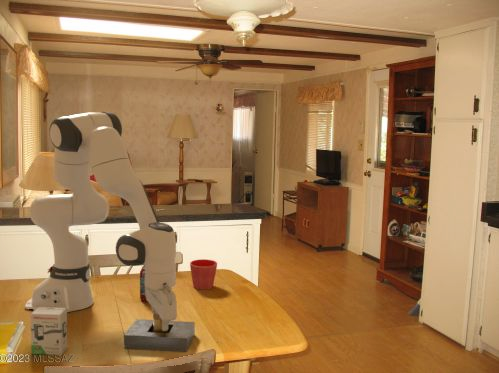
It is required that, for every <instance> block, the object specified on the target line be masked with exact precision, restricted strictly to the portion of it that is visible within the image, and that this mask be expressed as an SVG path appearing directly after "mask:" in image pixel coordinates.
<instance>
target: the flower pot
mask: <svg viewBox="0 0 499 373" xmlns="http://www.w3.org/2000/svg"><path fill="white" fill-rule="evenodd" d="M189 267H190V274H191V282H192V286H193V288H194V289H197V290H202V291H203V290H204V291H205V290H210V289H213V287H214V284H215V278H216V274H217V267H218V262H217V261H215V260H213V259H202V258H201V259H195V260H194V259H193V260H191V261H190V263H189Z"/></svg>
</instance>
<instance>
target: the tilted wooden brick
mask: <svg viewBox="0 0 499 373" xmlns="http://www.w3.org/2000/svg"><path fill="white" fill-rule="evenodd" d="M152 320H153V332H154V333H168V330H166V331H163V330H162V329H161V323H162V318H161V316H160V315H153V314H152Z"/></svg>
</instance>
